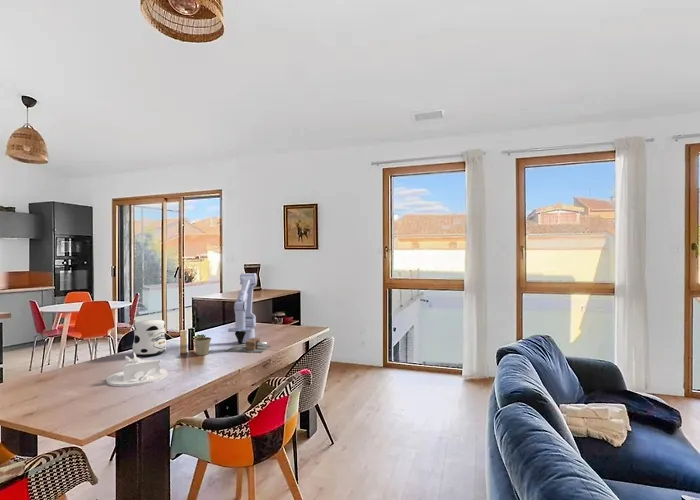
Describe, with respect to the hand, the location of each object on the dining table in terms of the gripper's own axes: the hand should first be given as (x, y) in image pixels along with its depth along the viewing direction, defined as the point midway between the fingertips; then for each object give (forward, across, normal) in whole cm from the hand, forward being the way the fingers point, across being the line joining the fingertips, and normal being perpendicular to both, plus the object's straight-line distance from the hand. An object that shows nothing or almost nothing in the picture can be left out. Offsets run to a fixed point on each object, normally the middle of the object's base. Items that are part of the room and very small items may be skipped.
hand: (240, 344), depth 243 cm
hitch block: (+3, +5, 0) cm, 6 cm away
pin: (+2, +10, 0) cm, 11 cm away
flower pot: (+3, -16, -15) cm, 22 cm away
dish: (+3, -26, -59) cm, 64 cm away
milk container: (+3, -46, -18) cm, 50 cm away
